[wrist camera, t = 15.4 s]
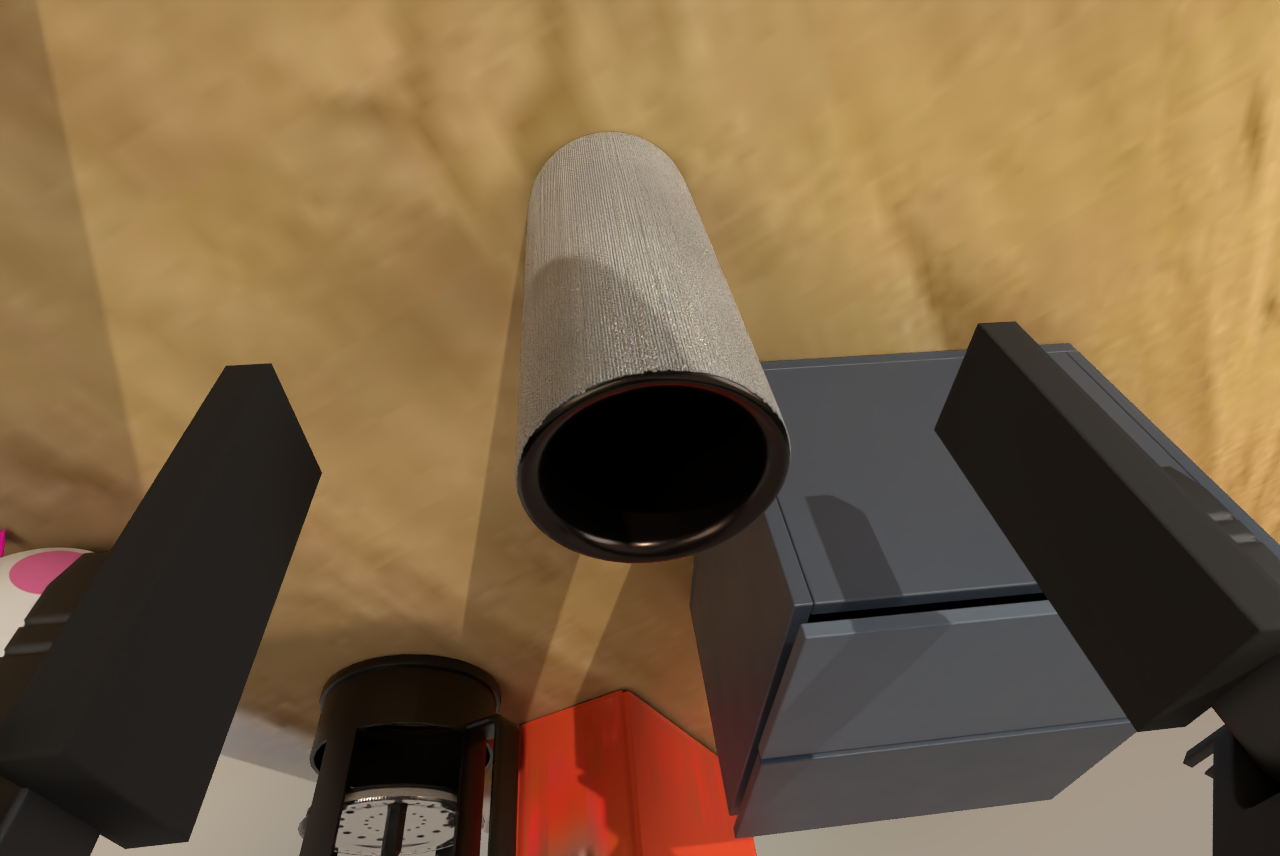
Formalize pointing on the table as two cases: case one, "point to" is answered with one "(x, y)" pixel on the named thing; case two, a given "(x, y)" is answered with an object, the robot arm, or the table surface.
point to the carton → (881, 592)
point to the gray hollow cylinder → (636, 366)
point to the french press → (411, 762)
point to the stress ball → (27, 582)
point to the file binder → (620, 786)
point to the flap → (932, 679)
